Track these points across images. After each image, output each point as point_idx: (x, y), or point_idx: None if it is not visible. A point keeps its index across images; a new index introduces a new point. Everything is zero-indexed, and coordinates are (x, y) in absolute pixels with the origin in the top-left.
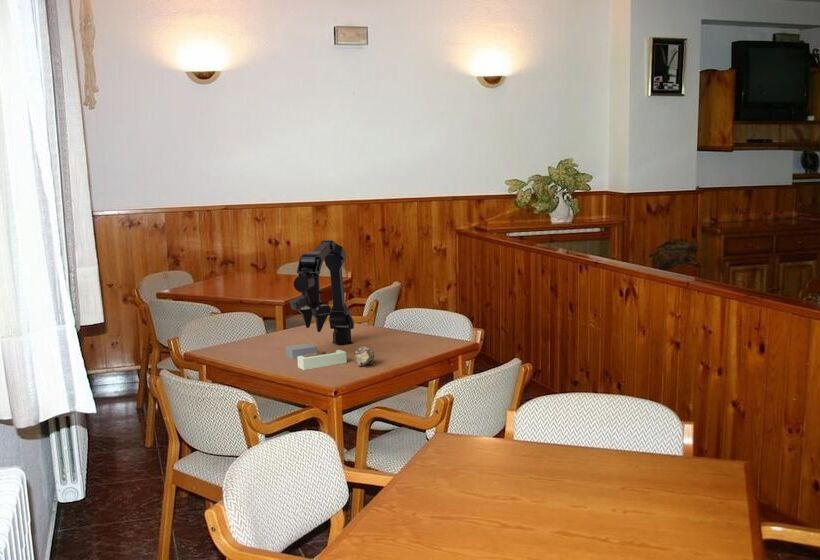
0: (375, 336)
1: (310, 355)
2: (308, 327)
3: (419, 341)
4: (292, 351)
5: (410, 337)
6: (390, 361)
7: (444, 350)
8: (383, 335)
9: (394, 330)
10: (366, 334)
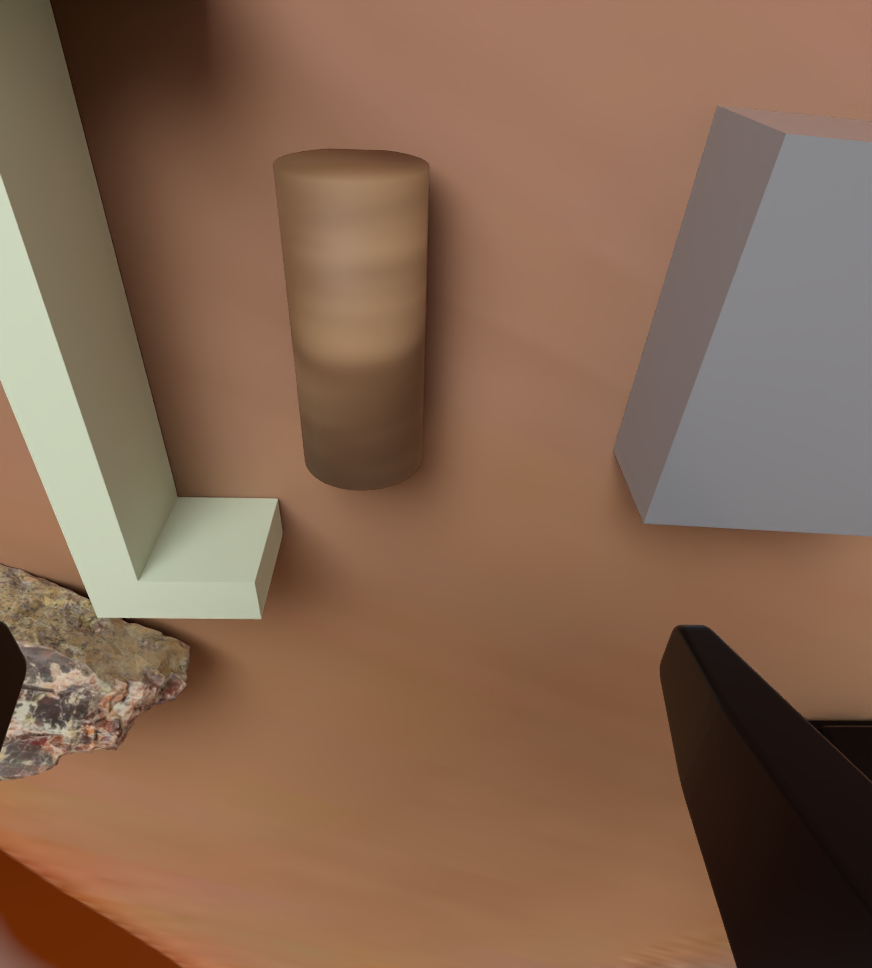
0: None
1: (305, 253)
2: (666, 661)
3: (461, 951)
4: (771, 129)
5: (574, 956)
6: None
7: (194, 948)
8: None
9: None
10: None
